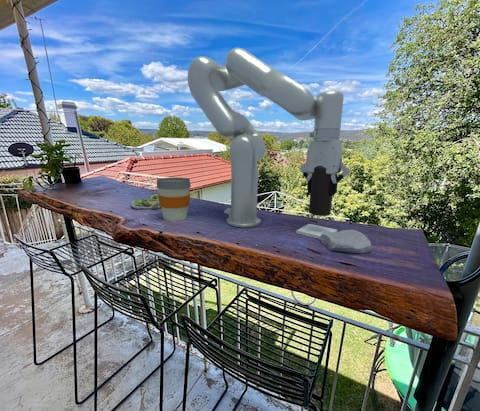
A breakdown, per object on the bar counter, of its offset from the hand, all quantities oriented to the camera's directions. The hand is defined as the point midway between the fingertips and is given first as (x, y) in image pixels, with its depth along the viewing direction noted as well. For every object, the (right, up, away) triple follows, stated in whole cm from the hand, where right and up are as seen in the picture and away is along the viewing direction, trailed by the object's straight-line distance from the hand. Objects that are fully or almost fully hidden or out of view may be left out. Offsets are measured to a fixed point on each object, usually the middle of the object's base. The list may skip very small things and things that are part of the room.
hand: (321, 193), depth 77 cm
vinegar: (0, -7, +1) cm, 7 cm away
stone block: (+4, -16, -8) cm, 19 cm away
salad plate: (-68, -4, +37) cm, 78 cm away
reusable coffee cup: (-52, -9, +17) cm, 55 cm away
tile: (0, -13, +3) cm, 13 cm away
